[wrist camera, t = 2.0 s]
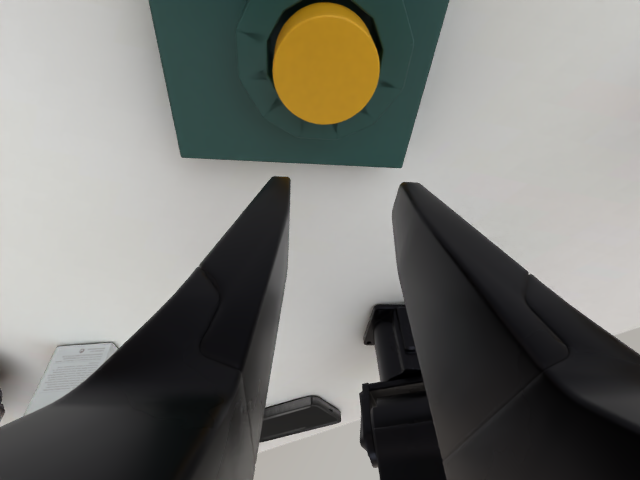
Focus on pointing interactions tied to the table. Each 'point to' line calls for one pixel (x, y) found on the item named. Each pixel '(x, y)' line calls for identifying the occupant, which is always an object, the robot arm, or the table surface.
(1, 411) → the decorative rock
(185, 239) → the table surface
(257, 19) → the teal square base
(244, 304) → the robot arm
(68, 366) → the small box
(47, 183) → the table surface
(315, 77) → the cylinder
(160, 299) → the table surface
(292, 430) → the phone
